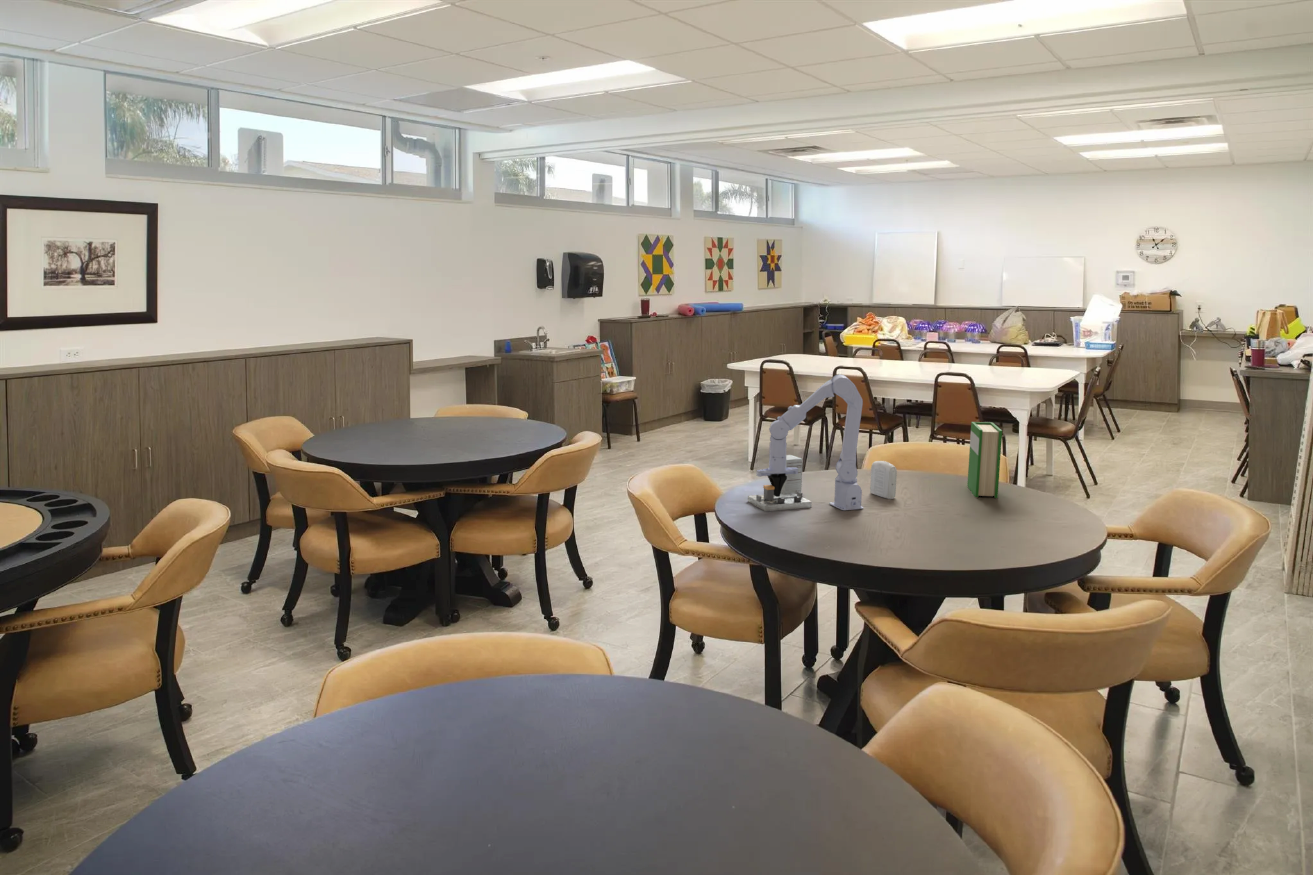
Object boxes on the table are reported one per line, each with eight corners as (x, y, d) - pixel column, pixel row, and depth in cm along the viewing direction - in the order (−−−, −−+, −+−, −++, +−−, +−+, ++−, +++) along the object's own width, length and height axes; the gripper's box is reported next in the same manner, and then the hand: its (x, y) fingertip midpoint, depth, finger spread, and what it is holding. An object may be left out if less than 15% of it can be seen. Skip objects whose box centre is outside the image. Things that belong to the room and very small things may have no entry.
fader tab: (774, 499, 313) (774, 486, 312) (767, 500, 312) (767, 487, 312) (770, 497, 316) (770, 484, 315) (763, 497, 315) (763, 485, 315)
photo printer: (897, 498, 325) (899, 463, 323) (887, 499, 323) (889, 464, 321) (877, 492, 334) (878, 458, 332) (868, 493, 332) (869, 459, 330)
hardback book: (997, 498, 325) (1002, 430, 321) (975, 497, 326) (979, 430, 322) (988, 487, 342) (992, 422, 338) (967, 486, 343) (971, 421, 339)
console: (811, 507, 312) (811, 496, 311) (765, 511, 307) (765, 500, 306) (792, 497, 325) (792, 487, 324) (747, 501, 320) (748, 491, 319)
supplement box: (773, 490, 336) (774, 456, 334) (790, 488, 339) (791, 454, 337) (784, 494, 329) (785, 459, 327) (802, 492, 332) (803, 458, 330)
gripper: (792, 452, 319) (790, 491, 321) (753, 455, 314) (752, 494, 317) (801, 456, 312) (800, 496, 314) (761, 459, 308) (760, 499, 310)
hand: (776, 495), depth 315 cm, fingers closed
